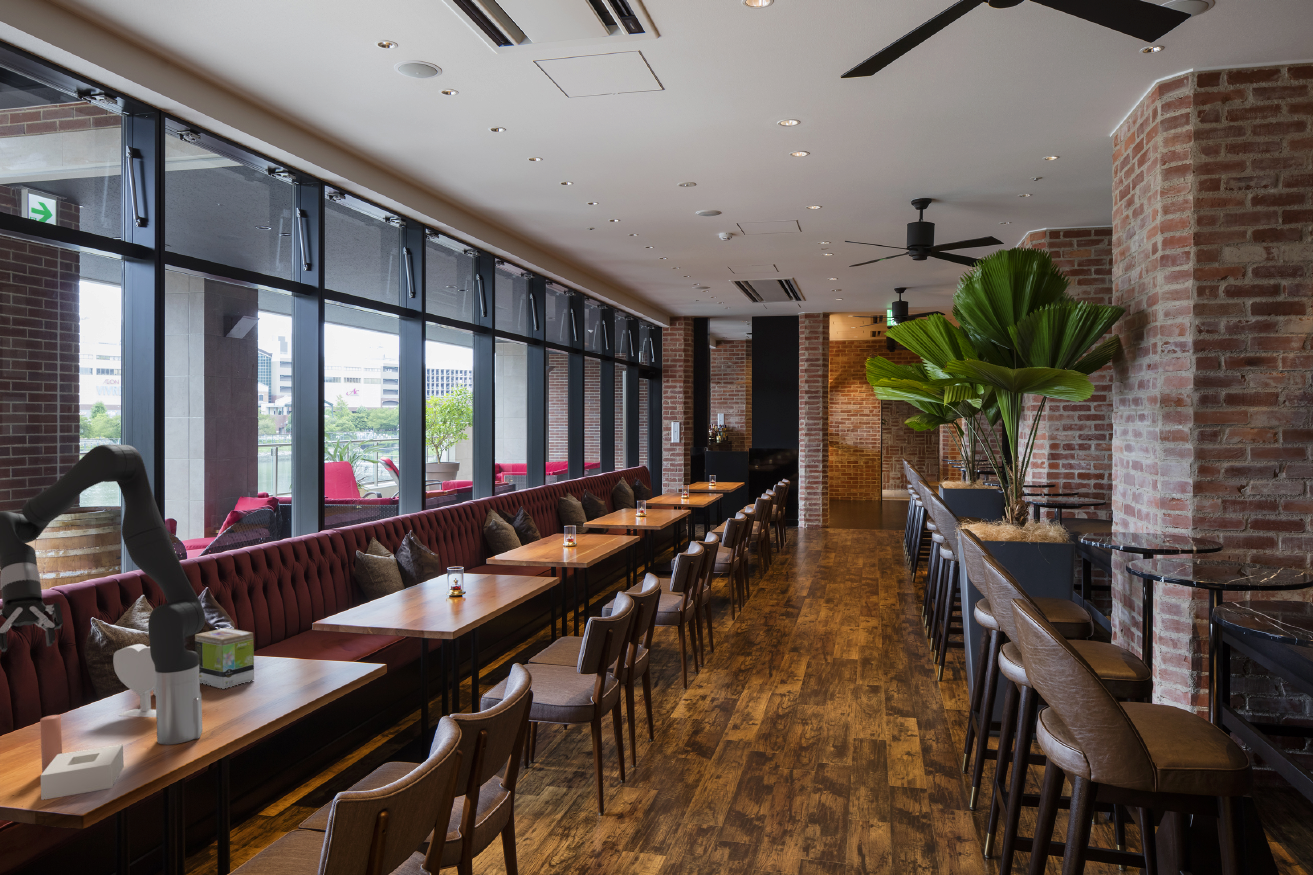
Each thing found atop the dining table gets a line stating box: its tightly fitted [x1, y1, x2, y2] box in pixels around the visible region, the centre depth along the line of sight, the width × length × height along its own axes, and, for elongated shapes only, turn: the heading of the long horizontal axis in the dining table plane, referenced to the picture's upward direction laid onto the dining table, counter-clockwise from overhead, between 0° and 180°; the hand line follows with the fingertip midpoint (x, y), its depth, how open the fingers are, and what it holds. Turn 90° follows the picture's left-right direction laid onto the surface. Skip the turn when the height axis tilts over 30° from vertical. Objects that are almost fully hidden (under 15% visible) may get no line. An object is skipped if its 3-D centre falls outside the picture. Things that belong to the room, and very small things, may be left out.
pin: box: [39, 714, 63, 774], centre depth 176 cm, size 4×4×12 cm
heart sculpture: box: [112, 643, 156, 718], centre depth 213 cm, size 16×5×18 cm, turn 81°
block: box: [40, 743, 124, 801], centre depth 170 cm, size 12×12×5 cm
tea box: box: [194, 627, 255, 690], centre depth 239 cm, size 15×10×15 cm, turn 58°
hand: (27, 647), depth 187 cm, fingers open, 8 cm apart
